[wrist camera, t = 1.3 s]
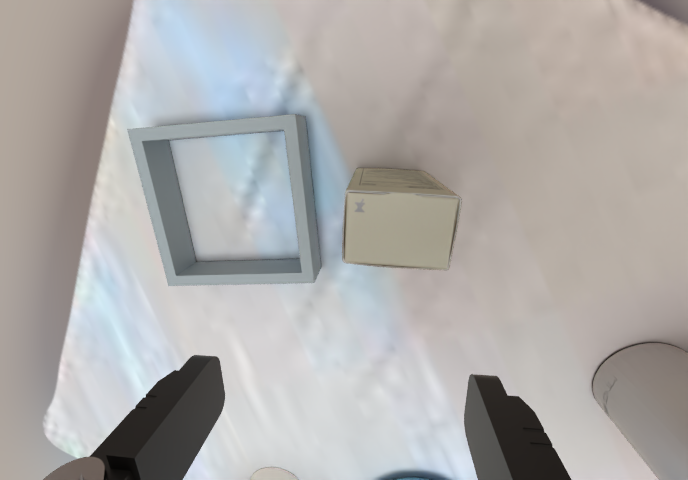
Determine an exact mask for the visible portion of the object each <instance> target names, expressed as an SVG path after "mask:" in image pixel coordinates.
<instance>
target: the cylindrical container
mask: <svg viewBox="0 0 688 480" xmlns="http://www.w3.org/2000/svg"><path fill="white" fill-rule="evenodd" d="M251 480H299V479H298V478H297V477H296V476H294V475H293V474H292V473H290V472H288V471H286V470H283V469H280V468H275V467H267V468H262V469H260V470H258V471H256V472H255V473H254V474H253V475H252V477H251Z"/></svg>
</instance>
